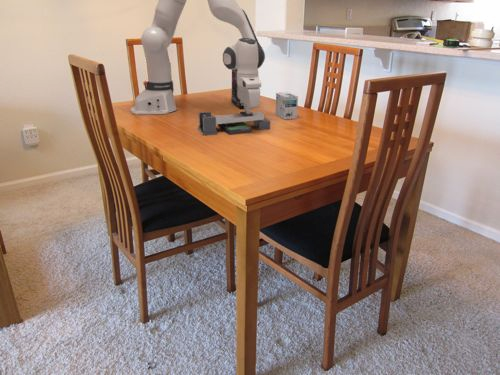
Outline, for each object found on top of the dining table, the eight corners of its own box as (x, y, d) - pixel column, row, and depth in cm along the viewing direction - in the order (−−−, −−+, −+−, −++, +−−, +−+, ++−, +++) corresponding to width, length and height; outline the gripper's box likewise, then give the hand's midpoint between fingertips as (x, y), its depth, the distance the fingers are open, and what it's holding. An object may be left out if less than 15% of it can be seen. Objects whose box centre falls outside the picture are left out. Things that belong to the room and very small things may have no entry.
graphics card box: (230, 102, 225) (230, 49, 214) (243, 101, 227) (243, 49, 216) (239, 109, 211) (239, 53, 199) (252, 108, 213) (253, 52, 201)
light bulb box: (297, 118, 195) (298, 95, 191) (284, 120, 193) (285, 96, 188) (287, 113, 204) (288, 91, 200) (274, 114, 202) (275, 92, 197)
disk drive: (217, 127, 183) (229, 136, 170) (216, 121, 182) (229, 129, 169) (238, 124, 187) (252, 133, 174) (238, 118, 186) (252, 126, 173)
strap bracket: (203, 135, 169) (202, 118, 167) (198, 128, 179) (197, 112, 176) (271, 130, 178) (271, 113, 175) (262, 123, 187) (263, 107, 184)
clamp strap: (206, 125, 171) (205, 119, 170) (203, 121, 176) (202, 115, 175) (264, 119, 177) (264, 113, 176) (259, 116, 183) (259, 110, 181)
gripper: (233, 76, 180) (234, 108, 185) (247, 84, 162) (247, 119, 167) (247, 76, 181) (247, 107, 187) (262, 83, 164) (262, 118, 169)
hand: (247, 113), depth 177 cm, fingers closed, pressing on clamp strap
